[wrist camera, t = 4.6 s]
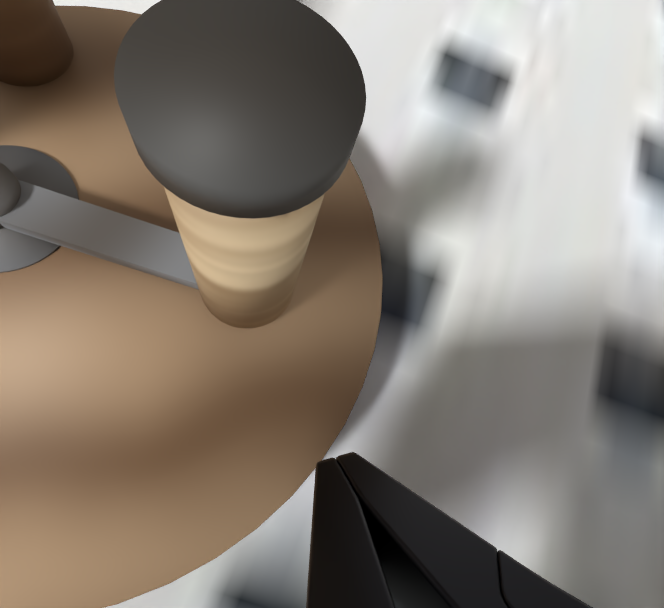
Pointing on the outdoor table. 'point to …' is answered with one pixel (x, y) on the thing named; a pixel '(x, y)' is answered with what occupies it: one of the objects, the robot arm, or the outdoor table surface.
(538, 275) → the outdoor table surface
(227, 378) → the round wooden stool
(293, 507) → the outdoor table surface
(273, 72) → the hinged leg
